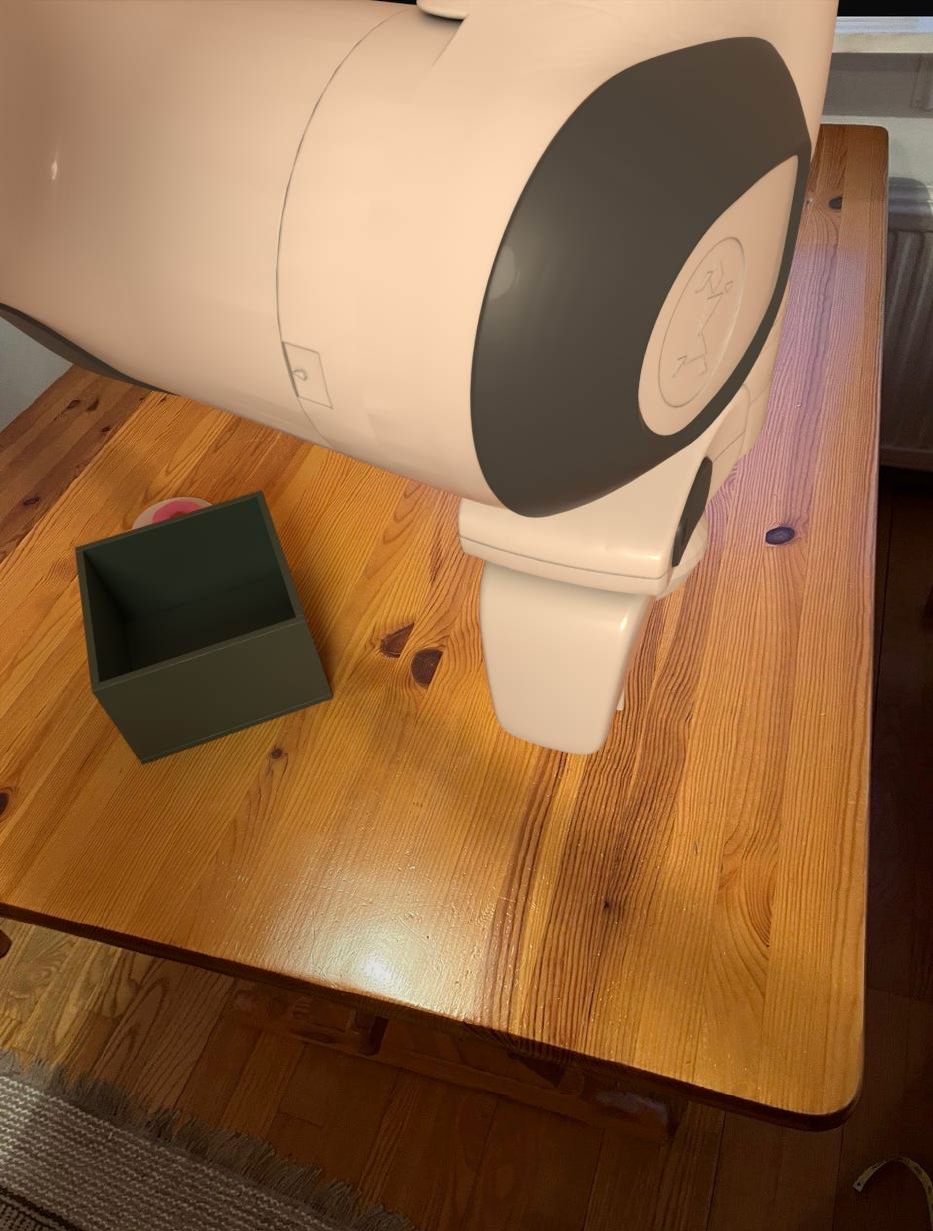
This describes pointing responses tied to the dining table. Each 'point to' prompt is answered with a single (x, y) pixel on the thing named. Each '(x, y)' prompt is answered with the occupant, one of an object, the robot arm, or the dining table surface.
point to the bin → (196, 628)
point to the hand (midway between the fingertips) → (622, 631)
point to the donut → (169, 510)
